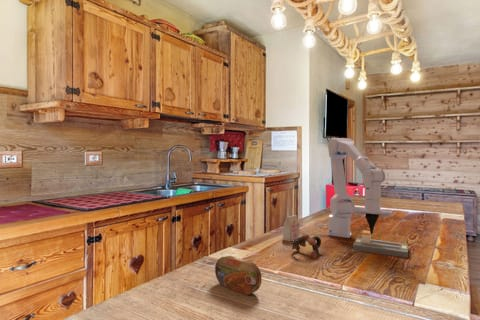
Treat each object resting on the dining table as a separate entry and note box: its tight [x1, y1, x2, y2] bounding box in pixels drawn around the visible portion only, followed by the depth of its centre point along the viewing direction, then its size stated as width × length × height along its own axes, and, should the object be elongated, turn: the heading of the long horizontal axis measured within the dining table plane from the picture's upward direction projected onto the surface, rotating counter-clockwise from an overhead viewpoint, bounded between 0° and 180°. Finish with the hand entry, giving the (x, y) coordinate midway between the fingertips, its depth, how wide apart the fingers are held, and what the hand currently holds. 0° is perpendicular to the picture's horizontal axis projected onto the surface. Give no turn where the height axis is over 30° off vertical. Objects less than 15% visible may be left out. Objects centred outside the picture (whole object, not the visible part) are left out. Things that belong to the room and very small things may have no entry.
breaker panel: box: [352, 236, 409, 259], centre depth 128 cm, size 19×12×3 cm, turn 64°
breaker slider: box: [361, 229, 372, 243], centre depth 130 cm, size 3×4×4 cm
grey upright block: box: [282, 214, 301, 242], centre depth 140 cm, size 4×7×10 cm, turn 135°
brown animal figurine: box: [291, 233, 322, 259], centre depth 122 cm, size 12×10×8 cm
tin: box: [214, 255, 262, 296], centre depth 90 cm, size 15×3×8 cm, turn 50°
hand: (371, 233), depth 130 cm, fingers closed
